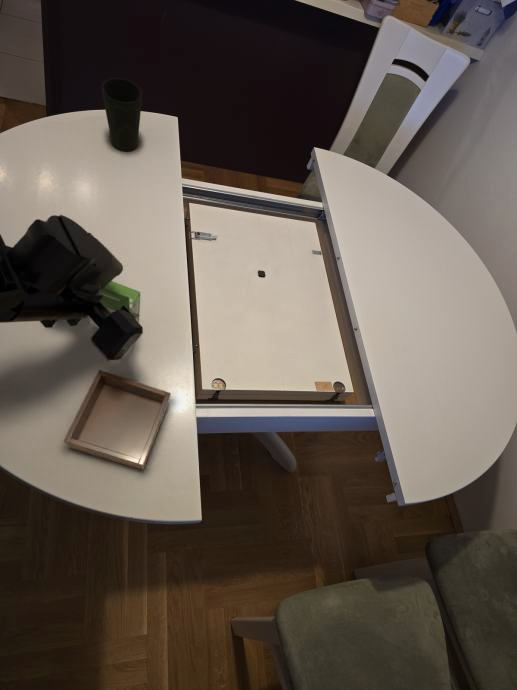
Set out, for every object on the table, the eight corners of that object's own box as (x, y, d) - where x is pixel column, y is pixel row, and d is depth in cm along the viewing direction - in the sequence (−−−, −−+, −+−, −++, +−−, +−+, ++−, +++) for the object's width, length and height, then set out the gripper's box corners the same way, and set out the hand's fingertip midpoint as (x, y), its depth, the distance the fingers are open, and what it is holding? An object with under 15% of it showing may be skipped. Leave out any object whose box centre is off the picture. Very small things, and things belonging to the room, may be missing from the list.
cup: (104, 130, 87) (98, 75, 77) (139, 131, 90) (138, 78, 79) (109, 155, 84) (104, 102, 74) (145, 155, 87) (145, 104, 77)
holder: (69, 447, 58) (63, 441, 54) (102, 380, 64) (99, 369, 60) (143, 470, 60) (143, 465, 55) (168, 402, 65) (170, 393, 61)
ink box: (140, 321, 67) (141, 277, 55) (130, 340, 65) (129, 298, 53) (101, 306, 66) (93, 258, 55) (90, 325, 64) (79, 279, 53)
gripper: (129, 302, 42) (193, 303, 57) (24, 189, 45) (112, 218, 60) (74, 371, 45) (148, 355, 60) (-21, 262, 48) (73, 272, 63)
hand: (121, 298), depth 60 cm, fingers closed on ink box, 8 cm apart
